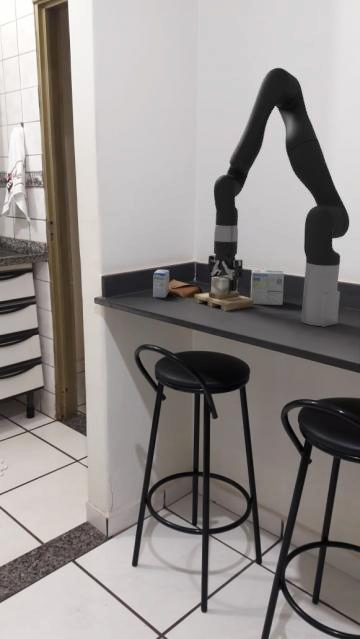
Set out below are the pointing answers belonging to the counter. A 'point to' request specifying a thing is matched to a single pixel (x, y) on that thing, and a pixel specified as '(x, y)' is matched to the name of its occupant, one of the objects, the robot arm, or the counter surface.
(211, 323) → the counter surface
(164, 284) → the medicine box
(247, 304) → the dock
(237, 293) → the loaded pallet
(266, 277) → the light bulb box
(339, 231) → the robot arm
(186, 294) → the sunglasses case
